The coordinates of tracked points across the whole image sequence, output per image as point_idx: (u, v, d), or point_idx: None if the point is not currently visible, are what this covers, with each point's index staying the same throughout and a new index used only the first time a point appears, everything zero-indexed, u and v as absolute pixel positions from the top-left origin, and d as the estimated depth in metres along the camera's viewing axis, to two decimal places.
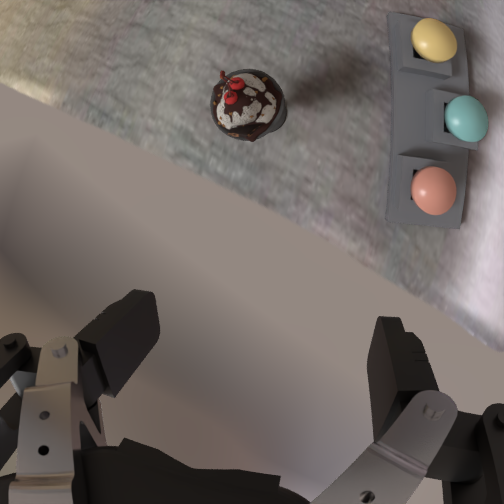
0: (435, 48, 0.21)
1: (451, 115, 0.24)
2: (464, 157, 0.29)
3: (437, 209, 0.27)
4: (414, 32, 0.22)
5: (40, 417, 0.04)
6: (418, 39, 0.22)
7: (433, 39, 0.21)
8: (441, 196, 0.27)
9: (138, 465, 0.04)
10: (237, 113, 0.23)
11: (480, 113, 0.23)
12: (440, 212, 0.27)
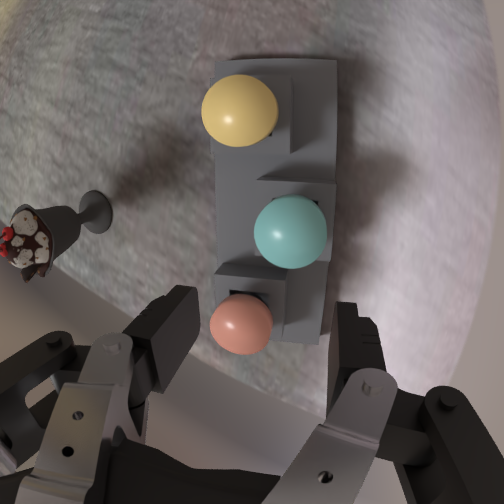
0: (232, 127, 0.19)
1: (256, 234, 0.21)
2: (322, 261, 0.27)
3: (244, 349, 0.25)
4: None
5: (73, 417, 0.05)
6: (206, 120, 0.19)
7: (231, 112, 0.18)
8: (247, 336, 0.24)
9: (138, 465, 0.04)
10: (13, 263, 0.21)
11: (311, 224, 0.20)
12: (249, 352, 0.25)
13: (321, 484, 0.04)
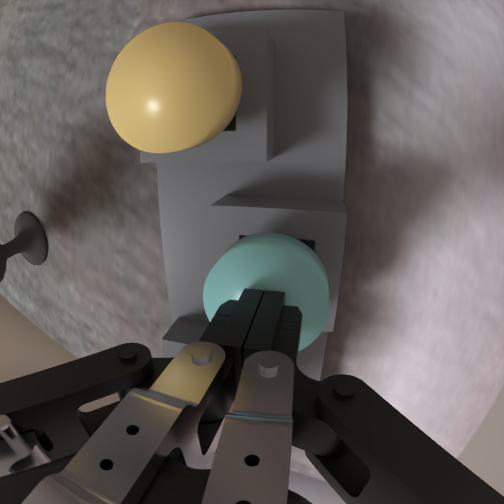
0: (153, 118, 0.10)
1: (207, 303, 0.12)
2: None
3: None
4: None
5: (127, 429, 0.05)
6: (113, 108, 0.10)
7: (151, 91, 0.09)
8: None
9: None
10: None
11: (302, 291, 0.11)
12: None
13: (251, 468, 0.04)
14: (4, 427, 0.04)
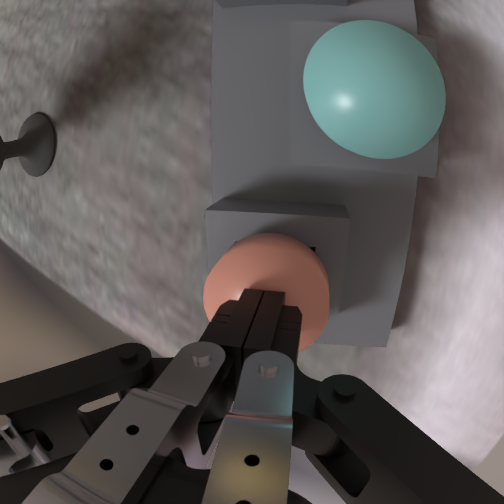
0: None
1: (308, 83, 0.09)
2: (405, 192, 0.13)
3: None
4: None
5: (128, 429, 0.05)
6: None
7: None
8: None
9: None
10: None
11: (417, 68, 0.08)
12: None
13: (251, 468, 0.04)
14: (4, 427, 0.04)
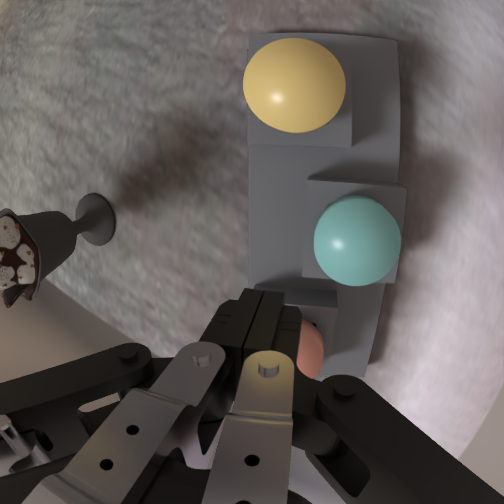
0: (287, 106, 0.13)
1: (316, 243, 0.16)
2: (378, 282, 0.21)
3: None
4: None
5: (127, 429, 0.05)
6: (250, 95, 0.14)
7: (285, 86, 0.13)
8: None
9: None
10: None
11: (384, 231, 0.15)
12: None
13: (251, 468, 0.04)
14: (4, 427, 0.04)
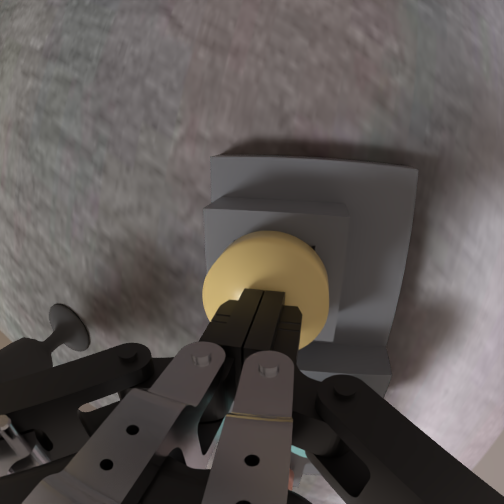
0: None
1: None
2: None
3: None
4: None
5: (128, 429, 0.05)
6: (211, 312, 0.12)
7: None
8: None
9: None
10: None
11: None
12: None
13: (250, 468, 0.04)
14: (4, 427, 0.04)
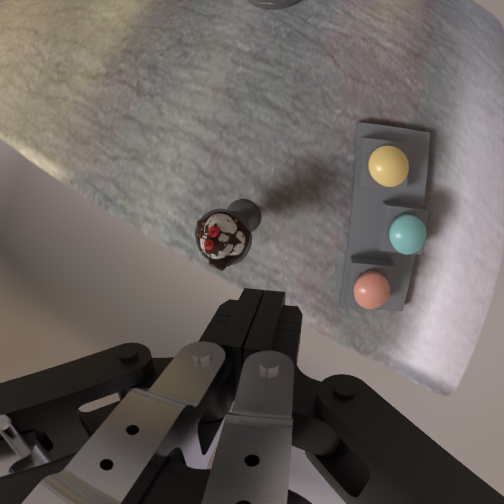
0: (386, 176, 0.33)
1: (392, 235, 0.35)
2: (411, 255, 0.40)
3: (372, 305, 0.39)
4: (370, 161, 0.33)
5: (127, 429, 0.05)
6: (372, 169, 0.33)
7: (386, 167, 0.33)
8: (376, 296, 0.38)
9: None
10: (214, 255, 0.34)
11: (420, 230, 0.34)
12: (375, 306, 0.39)
13: (251, 468, 0.04)
14: (4, 427, 0.04)
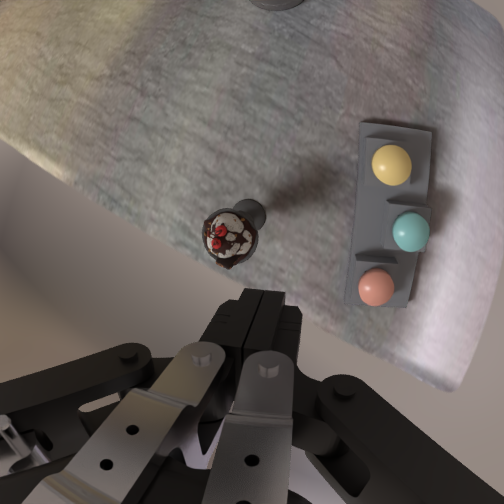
0: (389, 174, 0.33)
1: (395, 232, 0.35)
2: (414, 253, 0.40)
3: (377, 302, 0.39)
4: (373, 161, 0.33)
5: (127, 429, 0.05)
6: (375, 168, 0.33)
7: (389, 166, 0.33)
8: (381, 293, 0.39)
9: None
10: (221, 254, 0.34)
11: (423, 228, 0.34)
12: (379, 304, 0.39)
13: (251, 468, 0.04)
14: (4, 427, 0.04)
